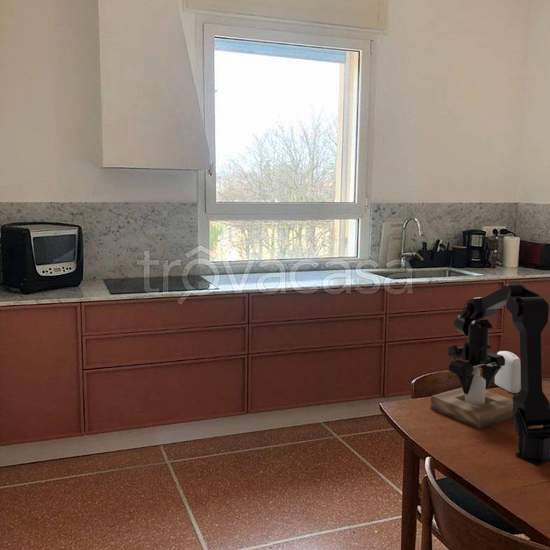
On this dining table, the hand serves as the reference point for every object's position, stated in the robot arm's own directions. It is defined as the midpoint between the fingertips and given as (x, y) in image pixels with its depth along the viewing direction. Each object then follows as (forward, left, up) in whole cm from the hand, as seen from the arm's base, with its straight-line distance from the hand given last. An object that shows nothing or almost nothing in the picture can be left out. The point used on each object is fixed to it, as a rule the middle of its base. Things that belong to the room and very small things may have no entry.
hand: (475, 391), depth 177 cm
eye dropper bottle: (0, 0, -4) cm, 4 cm away
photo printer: (+8, -26, -7) cm, 28 cm away
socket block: (0, 0, -6) cm, 6 cm away
